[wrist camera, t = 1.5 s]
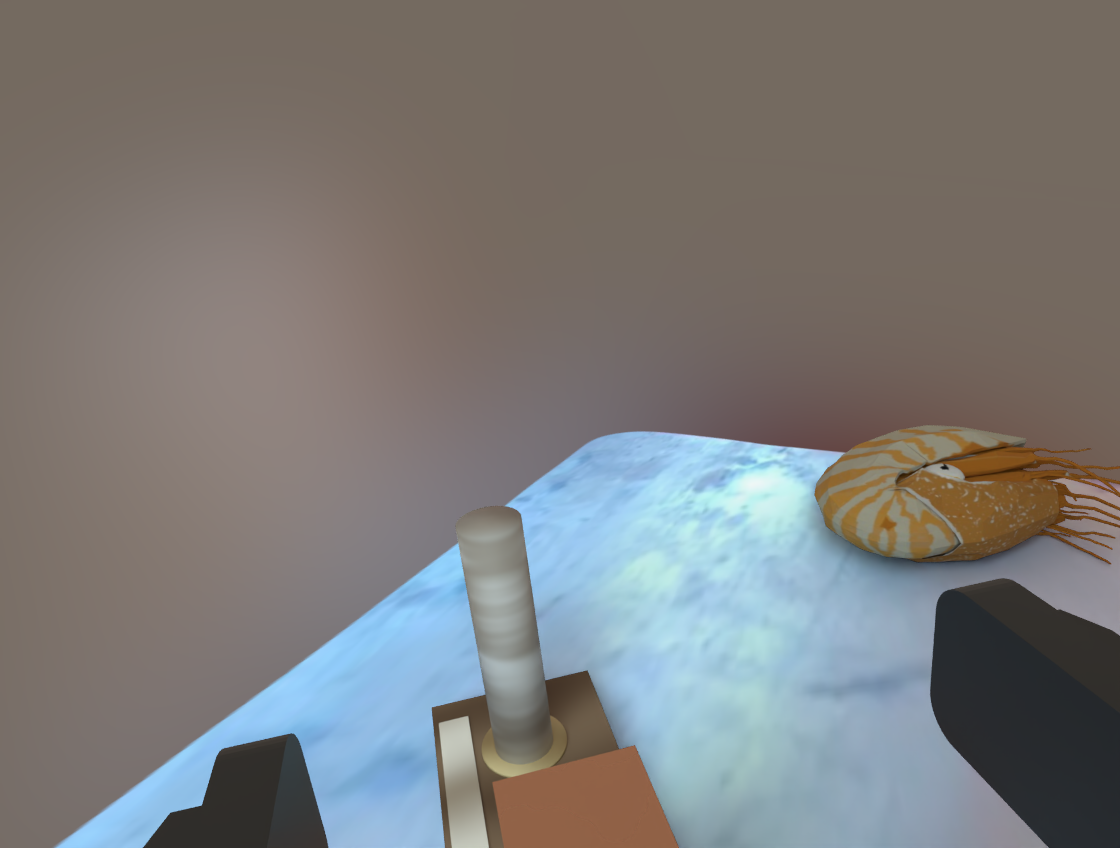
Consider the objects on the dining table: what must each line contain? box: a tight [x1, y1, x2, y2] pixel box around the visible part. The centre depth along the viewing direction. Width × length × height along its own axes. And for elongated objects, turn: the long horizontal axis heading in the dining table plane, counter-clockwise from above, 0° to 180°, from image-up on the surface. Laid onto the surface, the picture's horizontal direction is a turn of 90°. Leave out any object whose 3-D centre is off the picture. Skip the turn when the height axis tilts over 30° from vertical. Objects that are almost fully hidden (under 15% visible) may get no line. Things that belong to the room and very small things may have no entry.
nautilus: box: [815, 425, 1120, 564], centre depth 53 cm, size 8×22×15 cm
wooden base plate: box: [432, 506, 619, 848], centre depth 29 cm, size 27×9×14 cm, turn 13°
